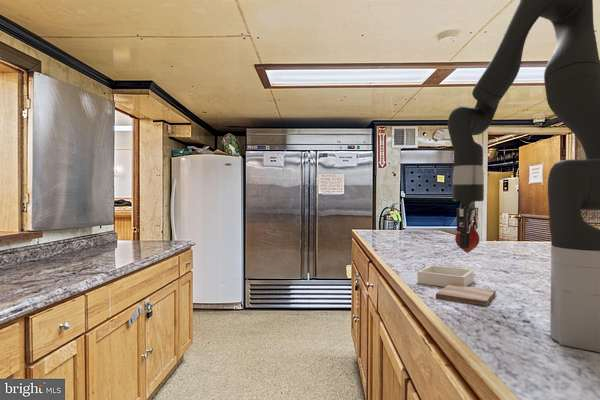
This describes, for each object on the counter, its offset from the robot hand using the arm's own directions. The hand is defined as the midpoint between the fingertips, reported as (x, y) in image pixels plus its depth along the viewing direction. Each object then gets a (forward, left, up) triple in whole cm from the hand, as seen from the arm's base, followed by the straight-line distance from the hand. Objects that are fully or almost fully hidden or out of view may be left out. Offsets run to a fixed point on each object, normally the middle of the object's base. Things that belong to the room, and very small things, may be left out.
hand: (467, 246), depth 99 cm
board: (0, 0, -13) cm, 13 cm away
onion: (0, 0, -2) cm, 2 cm away
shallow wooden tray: (+14, +9, -13) cm, 22 cm away
